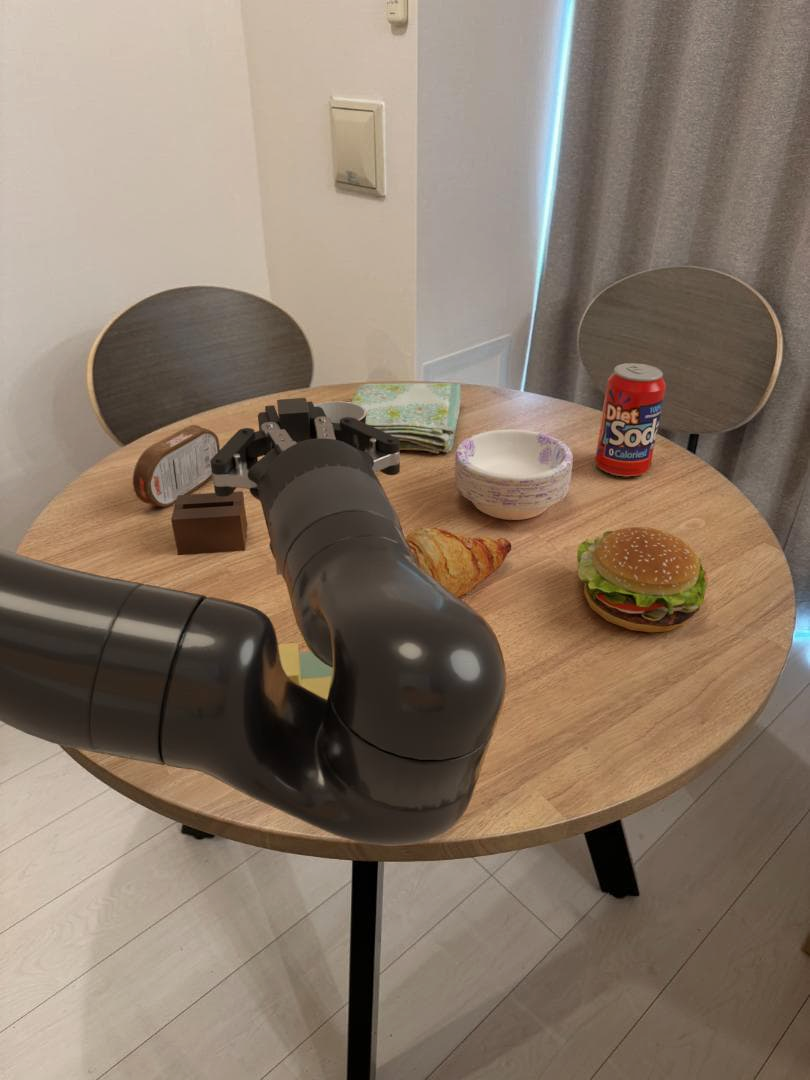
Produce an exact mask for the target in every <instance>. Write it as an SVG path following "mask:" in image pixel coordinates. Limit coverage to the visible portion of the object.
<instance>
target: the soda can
mask: <svg viewBox="0 0 810 1080" xmlns="http://www.w3.org/2000/svg"><path fill="white" fill-rule="evenodd" d="M663 376H664V372H663V371H662V370H661V368H659V367H656V366H654V365H650V364H646V363H645V364H644V363H638V362H637V363H635V362H634V363H632V362H631V363H629V362H628V363H622V364H618V365H616V366H615V367H614V369H613V372H612V373H611V374H610V376H608V378H607V381H606V387H605V394H604V400H603V406H602V412H601V418H600V425H599V433H598V438H597V445H596V451H595V464H596V466H597V467H598V468H599V469H600V470H601V471H604V472H605V473H607V474H608V473H610V474H609V475H611V474H613V475H612V476H614V475H617V476H616V477H618V476H625V477H624V478H630V477H629V476H634V477H637V476H640V475H643V474H645V473H647V472H648V471H649V470H650V468H651V464H652V460H653V455H654V449H655V444H656V440H657V435H658V429H659V424H660V420H661V415H662V409H663V405H664V400H665V399H664V398H665V394H666V390H667V389H666V388H667V383H666V382H665V380H664V377H663Z"/></svg>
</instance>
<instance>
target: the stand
mask: <svg viewBox="0 0 810 1080" xmlns="http://www.w3.org/2000/svg"><path fill="white" fill-rule="evenodd" d="M245 506H246V504H245V499H244V492H243V490H242V491H240V490H239V491H234V492H233V493H232V494H231V495H229V496H224V497H221V496H217V495H216V494H215V492H209V493H189V494H188V495H178V496H177V499H176V502H175V503H174V507H173V511H172V515H171V519H170V520H171V521H170V522H171V527H172V531H173V537H174V541H175V546H176V552H177V555H178V556H179V555H180V556H181V555H193V554H207V553H222V552H236V551H245V550H246V543H247V534H248V533H247V531H248V521H247V514H246V507H245Z"/></svg>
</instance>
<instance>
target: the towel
mask: <svg viewBox="0 0 810 1080" xmlns="http://www.w3.org/2000/svg"><path fill="white" fill-rule="evenodd" d="M350 402H351V403H355V404H358V405H361V406H362V407H364V408H365V409H366V412H367V413H366V424H368V425H370V426H372V427H374V428H376V429H379V430H381V431H383V432H385V433H387V434H390V435H392V436H394V437H396V438H398V439H399V440H400V451H402V450H404V451H419V452H421V451H423V452H429V453H432V454H436V455H437V454H440V452H443V453H451V451H452V448H453V446H454V441H455V436H456V429H457V425H458V420H459V414H460V410H461V409H460V407H461V404H462V384H461V383H460V382H454V383H453V382H425V383H424V382H423V383H416V382H415V383H414V382H413V383H412V382H410V383H409V382H407V383H406V382H405V383H404V382H403V383H399V382H398V383H364V384H360V385H359V386H358V387H357V388H356V389H355V393H354V395H353V397H352V399H351V401H350Z"/></svg>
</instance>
